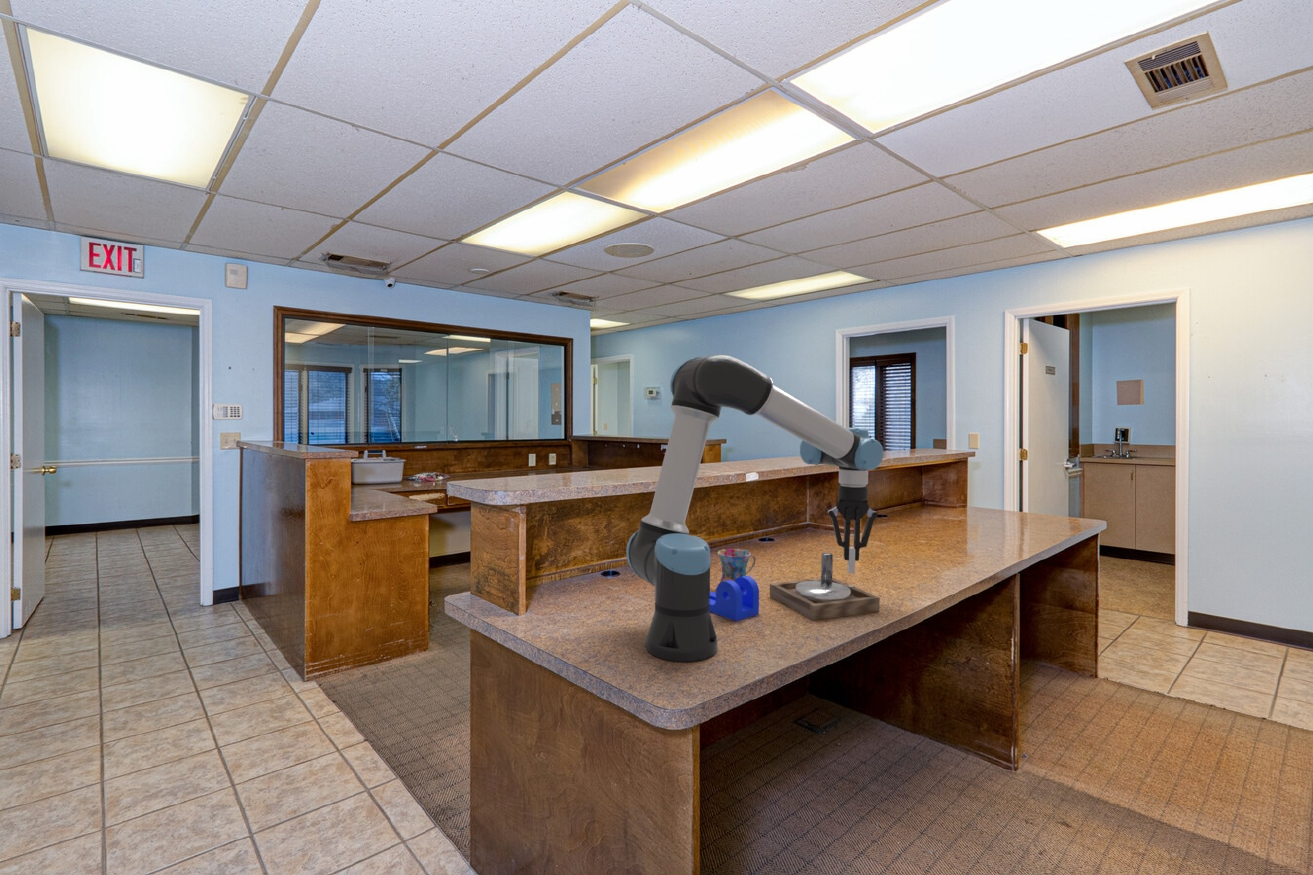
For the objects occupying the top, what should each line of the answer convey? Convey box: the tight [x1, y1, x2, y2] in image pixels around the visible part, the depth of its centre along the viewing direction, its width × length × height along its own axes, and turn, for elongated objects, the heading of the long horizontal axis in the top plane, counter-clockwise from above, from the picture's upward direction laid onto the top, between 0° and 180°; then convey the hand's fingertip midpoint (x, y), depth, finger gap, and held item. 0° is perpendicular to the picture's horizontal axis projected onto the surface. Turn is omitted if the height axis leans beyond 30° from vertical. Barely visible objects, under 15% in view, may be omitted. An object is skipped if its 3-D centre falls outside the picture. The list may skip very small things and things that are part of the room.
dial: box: [796, 552, 851, 603], centre depth 160 cm, size 14×14×10 cm
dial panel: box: [769, 577, 881, 621], centre depth 160 cm, size 20×20×4 cm
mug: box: [717, 548, 757, 590], centre depth 173 cm, size 12×9×11 cm
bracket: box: [709, 575, 760, 622], centre depth 156 cm, size 18×8×9 cm, turn 40°
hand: (851, 572), depth 164 cm, fingers closed
